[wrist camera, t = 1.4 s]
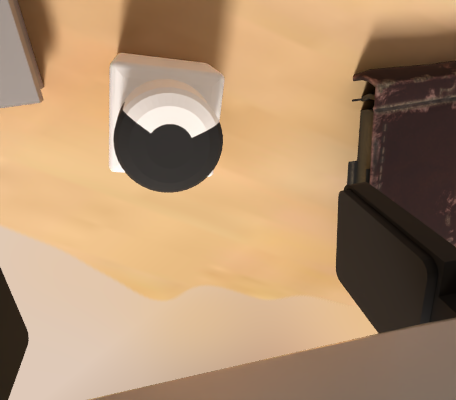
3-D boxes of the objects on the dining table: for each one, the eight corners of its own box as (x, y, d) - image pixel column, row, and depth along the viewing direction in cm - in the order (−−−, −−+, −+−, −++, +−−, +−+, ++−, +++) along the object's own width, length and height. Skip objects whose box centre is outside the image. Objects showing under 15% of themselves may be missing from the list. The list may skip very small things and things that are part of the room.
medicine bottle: (200, 148, 34) (226, 208, 23) (115, 142, 32) (101, 204, 21) (209, 63, 31) (243, 86, 20) (116, 51, 29) (100, 70, 19)
